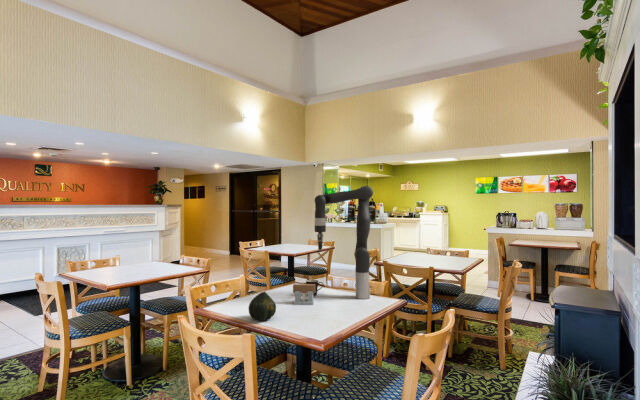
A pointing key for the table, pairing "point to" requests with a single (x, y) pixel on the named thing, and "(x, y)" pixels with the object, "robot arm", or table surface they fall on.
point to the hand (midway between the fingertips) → (320, 249)
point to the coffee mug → (315, 285)
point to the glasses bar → (304, 288)
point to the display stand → (303, 300)
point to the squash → (262, 307)
